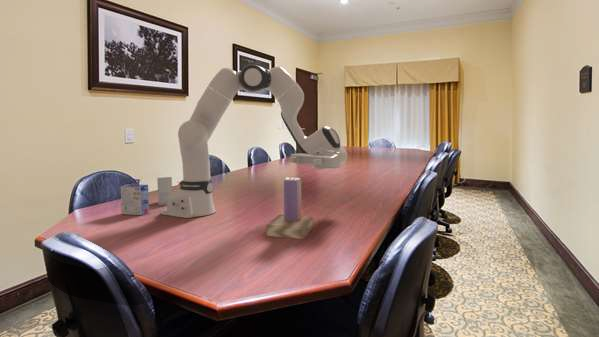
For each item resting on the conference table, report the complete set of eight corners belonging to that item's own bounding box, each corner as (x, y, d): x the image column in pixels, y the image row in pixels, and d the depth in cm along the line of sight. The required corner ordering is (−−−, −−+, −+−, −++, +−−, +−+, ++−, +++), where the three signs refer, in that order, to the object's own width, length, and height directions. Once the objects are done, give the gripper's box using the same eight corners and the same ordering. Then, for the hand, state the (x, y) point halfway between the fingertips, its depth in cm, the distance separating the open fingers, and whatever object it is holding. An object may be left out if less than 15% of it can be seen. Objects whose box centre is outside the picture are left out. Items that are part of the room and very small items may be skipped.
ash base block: (266, 235, 123) (266, 224, 122) (279, 225, 135) (279, 214, 135) (303, 239, 119) (303, 227, 119) (313, 227, 132) (313, 217, 131)
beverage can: (289, 224, 122) (289, 180, 120) (280, 220, 127) (280, 178, 125) (304, 221, 125) (304, 178, 123) (295, 217, 130) (295, 176, 128)
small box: (173, 204, 170) (171, 177, 168) (158, 205, 168) (156, 177, 166) (172, 200, 177) (171, 174, 176) (158, 201, 175) (157, 175, 174)
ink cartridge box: (150, 212, 155) (148, 179, 153) (142, 215, 150) (140, 181, 148) (130, 211, 157) (127, 178, 155) (121, 214, 152) (119, 180, 150)
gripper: (301, 149, 155) (281, 151, 144) (343, 152, 143) (324, 154, 132) (301, 164, 156) (281, 167, 145) (343, 168, 144) (324, 171, 133)
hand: (302, 161), depth 139 cm, fingers open, 8 cm apart
